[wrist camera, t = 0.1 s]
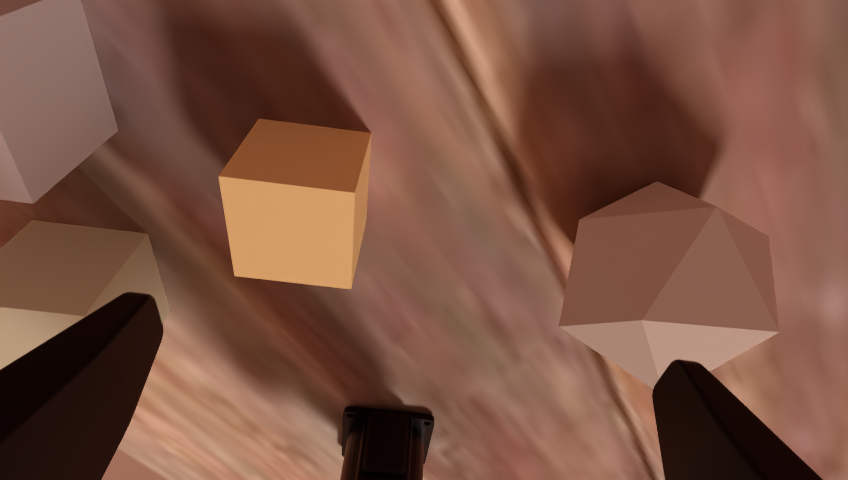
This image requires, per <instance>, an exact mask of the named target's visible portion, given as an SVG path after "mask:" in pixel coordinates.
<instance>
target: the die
mask: <svg viewBox="0 0 848 480" xmlns="http://www.w3.org/2000/svg"><path fill="white" fill-rule="evenodd" d="M559 327H560V328H562V329H563V330H565V331H566V332H568V333H569V334H571V335H572V336H574V337H575V338H577V339H578V340H580V341H581V342H583V343H584V344H586V345H587V346H589V347H590V348H592V349H593V350H595V351H596V352H598V353H599V354H601V355H602V356H604V357H606V358H607V359H609V360H610V361H612V362H613V363H615V364H616V365H618V366H619V367H621V368H622V369H624V370H625V371H627V372H628V373H630V374H631V375H633V376H634V377H636V378H637V379H639V380H640V381H642V382H643V383H645V384H646V385H648V386H649V387H651V388H652V389H654V386H655V384H656V383H657V381H658V380H659V378H660V377H661V376H662V374H663V373H664V371H665V370H666V369H667V367H668V366H669V364H670V363H671V362H672V361H674V360H677V359H680V360H688V361H695V362H698V363H700V364H702V365H703V366H704V367H705V368H706V369H707V370H708V371H711V370H713V369H715V368H717V367H718V366H720V365H722V364H724V363H725V362H727V361H729V360H731V359H732V358H734V357H736V356H738V355H740V354H741V353H743V352H745V351H747V350H748V349H750V348H752V347H754V346H755V345H757V344H759V343H761V342H763V341H764V340H766V339H768V338H770V337H771V336H773V335H775V334H777V333H779V326H778V317H777V308H776V299H775V289H774V280H773V271H772V262H771V253H770V243H769V237H768V236H767V235H765V234H763V233H761V232H760V231H758V230H756V229H755V228H753V227H751V226H749V225H748V224H746V223H744V222H742V221H741V220H739V219H737V218H736V217H734V216H732V215H730V214H729V213H727V212H725V211H723V210H722V209H720V208H718V207H716V206H714V205H712V204H709V203H707V202H705V201H702V200H700V199H698V198H695V197H693V196H691V195H688V194H686V193H684V192H681V191H679V190H677V189H674V188H672V187H670V186H667V185H665V184H663V183H660V182H658V181H656V182H654V183H652V184H650V185H648V186H646V187H644V188H642V189H640V190H638V191H636V192H634V193H632V194H630V195H628V196H626V197H624V198H622V199H620V200H618V201H616V202H614V203H612V204H610V205H608V206H606V207H604V208H602V209H600V210H598V211H596V212H594V213H592V214H590V215H588V216H586V217H584V218H582V219H580V220H579V224H578V229H577V234H576V239H575V245H574V250H573V255H572V260H571V266H570V271H569V276H568V281H567V287H566V292H565V297H564V302H563V308H562V313H561V318H560V323H559Z"/></svg>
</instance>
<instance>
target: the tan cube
mask: <svg viewBox="0 0 848 480" xmlns="http://www.w3.org/2000/svg"><path fill="white" fill-rule="evenodd" d="M126 292H137V293H145V294H150V295H152V296H153V297H154V298H155V300H156V303H157V307H158V310H159V314H160V317H161V321H162V324H163V322H164V321H165V319H166V317H167V316H168V314H169V312H170V308H169V305H168V301H167V298H166V294H165V291H164V288H163V284H162V281H161V277H160V274H159V270H158V267H157V263H156V260H155V256H154V253H153V249H152V246H151V242H150V239H149V235H148V234H147V233H139V232H130V231H122V230H113V229H105V228H96V227H88V226H79V225H71V224H62V223H54V222H45V221H36V220H32V221H30V222H29V223H28V224H27V225H26V226H25V227H24V228H23V229H21V230H20V231H19V232H18V233H17V234H16V235H15V236H14V237H13V238H11V239H10V240H9V241H8V242H7V243H6V244H5V245H4V246H3V247H1V248H0V369H2V368H4V367H5V366H7V365H8V364H10V363H12V362H13V361H15V360H16V359H18V358H20V357H21V356H23V355H24V354H26V353H28V352H29V351H31V350H33V349H34V348H36V347H37V346H39V345H41V344H42V343H44V342H45V341H47V340H49V339H50V338H52V337H53V336H55V335H57V334H58V333H60V332H62V331H63V330H65V329H66V328H68V327H70V326H71V325H73V324H74V323H76V322H78V321H79V320H81V319H82V318H84V317H86V316H87V315H89V314H91V313H92V312H94V311H95V310H97V309H99V308H100V307H102V306H103V305H105V304H107V303H108V302H110V301H111V300H113V299H115V298H116V297H118V296H119V295H121V294H123V293H126Z"/></svg>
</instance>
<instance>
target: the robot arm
mask: <svg viewBox="0 0 848 480" xmlns="http://www.w3.org/2000/svg"><path fill="white" fill-rule="evenodd" d="M162 337H163V324H162V321H161V317H160V314H159V310H158V307H157V303H156V300H155V298H154V297H153V296H152V295H150V294H145V293H137V292H126V293H123V294H121V295H119V296H118V297H116V298H115V299H113V300H111V301H110V302H108V303H107V304H105V305H103V306H102V307H100V308H99V309H97V310H95V311H94V312H92V313H91V314H89V315H87V316H86V317H84V318H82V319H81V320H79V321H78V322H76V323H74V324H73V325H71V326H70V327H68V328H66V329H65V330H63V331H62V332H60V333H58V334H57V335H55V336H53V337H52V338H50V339H49V340H47V341H45V342H44V343H42V344H41V345H39V346H37V347H36V348H34V349H33V350H31V351H29V352H28V353H26V354H24V355H23V356H21V357H20V358H18V359H16V360H15V361H13V362H12V363H10V364H8V365H7V366H5V367H4V368H2V369H0V480H101V479H102V477H103V475H104V473H105V471H106V469H107V467H108V465H109V463H110V461H111V460H112V458H113V456H114V454H115V452H116V450H117V448H118V446H119V444H120V442H121V440H122V438H123V436H124V434H125V432H126V430H127V428H128V426H129V424H130V421H131V419H132V416H133V414H134V411H135V409H136V406H137V404H138V401H139V398H140V396H141V393H142V391H143V388H144V385H145V383H146V380H147V377H148V375H149V372H150V370H151V367H152V364H153V362H154V359H155V356H156V354H157V351H158V349H159V346H160V343H161V340H162ZM652 398H653V406H654V412H655V418H656V425H657V431H658V438H659V444H660V451H661V457H662V463H663V470H664V475H665V480H823V479H822V478H821V477H819V476H818V475H817V474H816V473H815V472H814V471H813V470H812V469H811V468H810V467H809V466H808V465H807V464H806V463H805V462H804V461H803V460H802V459H801V458H800V457H799V456H797V455H796V454H795V453H794V452H793V451H792V450H791V449H790V448H789V447H788V446H787V445H786V444H785V443H784V442H783V441H782V440H781V439H780V438H779V437H778V436H776V435H775V434H774V433H773V432H772V431H771V430H770V429H769V428H768V427H767V426H766V425H765V424H764V423H763V422H762V421H761V420H760V419H759V418H758V417H757V416H756V415H754V414H753V413H752V412H751V411H750V410H749V409H748V408H747V407H746V406H745V405H744V404H743V403H742V402H741V401H740V400H739V399H738V398H737V397H736V396H735V395H733V394H732V393H731V392H730V391H729V390H728V389H727V388H726V387H725V386H724V385H723V384H722V383H721V382H720V381H719V380H718V379H717V378H716V377H715V376H714V375H713V374H711V373H710V372H709V371H708V370H707V369H706V368H705V367H704V366H703V365H702V364H700V363H698V362H695V361H688V360H680V359H677V360H674V361H672V362H671V363H670V364H669V366H668V367H667V369H666V370H665V371H664V373H663V374H662V376H661V377H660V378H659V380H658V381H657V383H656V384H655V386H654V389H653V394H652ZM433 427H434V417H433V416H432V415H427V414H418V413H408V412H399V411H389V410H379V409H370V408H360V407H346V408H345V409H344V413H343V436H342V456H343V457H344V462H343V467H342V473H341V479H340V480H423V464H424V463H425V460H426V456H427V452H428V448H429V444H430V440H431V435H432V431H433Z"/></svg>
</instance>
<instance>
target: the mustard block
mask: <svg viewBox="0 0 848 480" xmlns="http://www.w3.org/2000/svg"><path fill="white" fill-rule="evenodd" d="M370 146H371V133H368V132H360V131H353V130H345V129H337V128H329V127H321V126H314V125H306V124H298V123H290V122H282V121H275V120H267V119H258V120H257V122H256V123H255V125H254V126H253V128H252V129H251V130H250V132H249V133H248V135H247V136H246V138H245V139H244V140H243V142H242V143H241V145H240V146H239V148H238V149H237V150H236V152H235V153H234V155H233V156H232V158H231V159H230V160H229V162H228V163H227V165H226V166H225V168H224V169H223V170H222V172H221V173H220V175H219V176H218V177H219V183H220V189H221V195H222V201H223V208H224V214H225V220H226V226H227V233H228V239H229V245H230V251H231V257H232V264H233V270H234V276H238V277H247V278H256V279H265V280H273V281H282V282H291V283H300V284H308V285H317V286H326V287H335V288H343V289H351V288H352V283H353V279H354V274H355V270H356V265H357V261H358V256H359V252H360V247H361V243H362V238H363V234H364V229H365V224H366V214H367V197H368V180H369V163H370Z"/></svg>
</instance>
